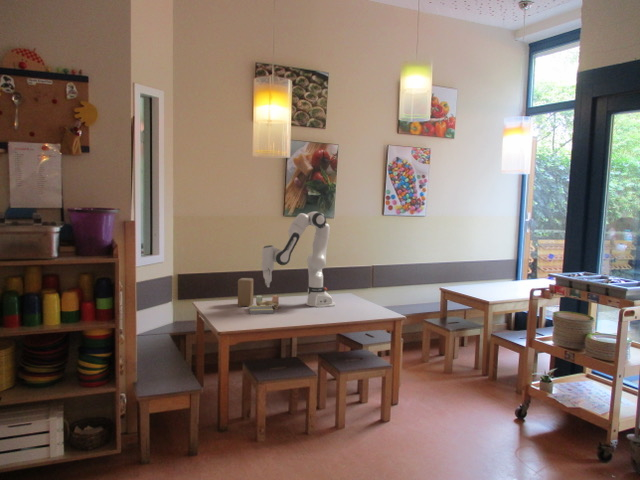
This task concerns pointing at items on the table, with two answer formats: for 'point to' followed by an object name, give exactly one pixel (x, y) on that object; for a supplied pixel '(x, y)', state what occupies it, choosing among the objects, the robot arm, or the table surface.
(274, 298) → the cargo
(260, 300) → the cargo
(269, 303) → the pallet
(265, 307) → the dock
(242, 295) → the wooden block
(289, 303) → the table surface
